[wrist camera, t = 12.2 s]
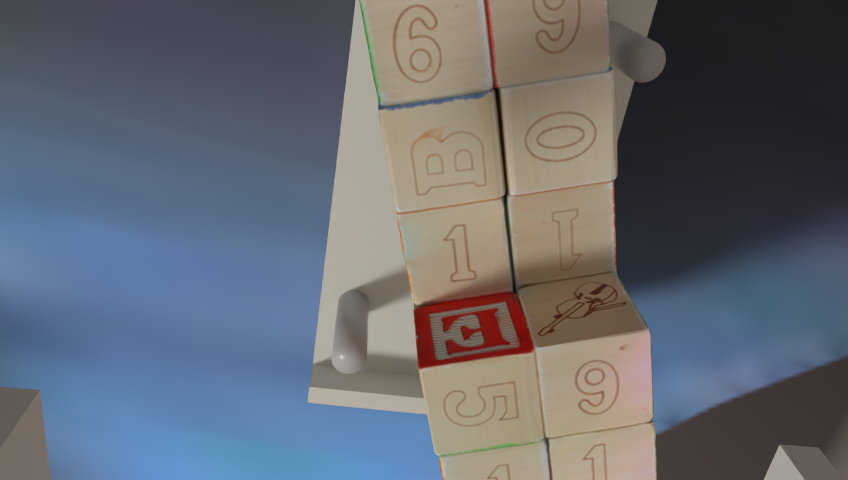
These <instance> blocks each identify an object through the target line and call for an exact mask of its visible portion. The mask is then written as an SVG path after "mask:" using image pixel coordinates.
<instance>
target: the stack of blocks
mask: <svg viewBox="0 0 848 480" xmlns="http://www.w3.org/2000/svg"><path fill="white" fill-rule="evenodd" d="M359 3H360V8H361V13H362V18H363V24H364V30H365V35H366V40H367V45H368V50H369V56H370V62H371V69H372V74H373V79H374V83H375V88H376V92H377V97H378V112H379V120H380V126H381V132H382V137H383V142H384V148H385V153H386V158H387V164H388V170H389V175H390V181H391V187H392V192H393V198H394V203H395V207H396V213H397V221H398V228H399V232H400V239H401V244H402V249H403V254H404V259H405V264H406V269H407V274H408V279H409V285H410V290H411V295H412V299H413V301H414V310H413V314H414V324H415V339H416V349H417V361H418V370H419V375H420V381H421V386H422V391H423V396H424V401H425V406H426V411H427V416H428V421H429V426H430V431H431V435H432V440H433V446H434V451H435V453H436V454H437V455H438V456H439V462H440V467H441V473H442V480H657V463H656V432H655V427H654V423H653V420H652V418H653V414H654V408H653V379H652V350H651V332H650V329H649V327H648V326H647V324H646V322H645V321H644V319H643V317H642V316H641V314H640V312H639V311H638V309H637V307H636V306H635V304H634V302H633V300H632V299H631V297H630V295H629V293H628V292H627V290H626V288H625V286H624V285H623V283H622V281H621V280H620V278H619V276H618V275H617V247H616V213H615V185H614V180H615V179H616V177H617V117H616V86H615V72H614V70H613V68H612V67H610V26H609V0H359Z"/></svg>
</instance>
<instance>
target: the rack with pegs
mask: <svg viewBox="0 0 848 480" xmlns="http://www.w3.org/2000/svg"><path fill="white" fill-rule="evenodd" d="M656 3H657V0H609V26H610V67H612V68H613V70H614V72H615V86H616V117H617V140H618V137H619V133H620V130H621V126H622V123H623V119H624V116H625V112H626V109H627V105H628V102H629V98H630V95H631V91H632V88H633V84H634V81H636V82H641V83H643V82H649V81H651V80H653V79H655V78H656V77H657V76H658V75H659V74H660V73H661V72H662V70H663V68H664V66H665V62H666V55H665V51H664V49H663V48H662V46H661V45H660V44H658V43H657V42H655V41H653V40H651V39H649V38H647V35H648V32H649V28H650V25H651V21H652V17H653V14H654V10H655V7H656ZM413 310H414V301H413V299H412V295H411V290H410V285H409V279H408V274H407V269H406V264H405V259H404V254H403V249H402V244H401V239H400V232H399V228H398V221H397V213H396V207H395V203H394V198H393V192H392V187H391V181H390V175H389V170H388V164H387V158H386V153H385V148H384V142H383V137H382V132H381V126H380V120H379V112H378V97H377V92H376V88H375V83H374V79H373V74H372V69H371V62H370V56H369V50H368V45H367V40H366V35H365V30H364V24H363V18H362V13H361V8H360V3H359V0H356V3H355V11H354V20H353V28H352V37H351V45H350V54H349V62H348V71H347V79H346V88H345V96H344V105H343V113H342V122H341V130H340V139H339V147H338V156H337V164H336V173H335V181H334V190H333V198H332V207H331V215H330V224H329V232H328V240H327V249H326V257H325V266H324V274H323V283H322V291H321V300H320V308H319V317H318V325H317V334H316V342H315V351H314V359H313V367H312V373H311V380H310V386H309V395H308V403H317V404H327V405H337V406H347V407H358V408H368V409H378V410H388V411H398V412H408V413H418V414H427V411H426V406H425V401H424V396H423V391H422V386H421V381H420V375H419V370H418V361H417V349H416V339H415V324H414V314H413Z"/></svg>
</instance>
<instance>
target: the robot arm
mask: <svg viewBox="0 0 848 480" xmlns="http://www.w3.org/2000/svg"><path fill="white" fill-rule="evenodd" d="M0 480H51V479H50V471H49V462H48V454H47V446H46V438H45V429H44V421H43V413H42V404H41V396H40V390H32V389H19V388H5V387H0ZM764 480H843V479H842V478H841V477H840V475H839V474H838V473H837V472H836V470H835V469H834V467H833V466H832V465H831V464H830V462H829V461H828V460H827V458H826V457H825V456H824V454H823V453H822V452H821V450H820V449H819V448H817V447H803V446H790V445H779V448H778V450H777V452H776V454H775V456H774V459H773V461H772V463H771V465H770V468H769V470H768V472H767V474H766V476H765V478H764Z"/></svg>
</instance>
